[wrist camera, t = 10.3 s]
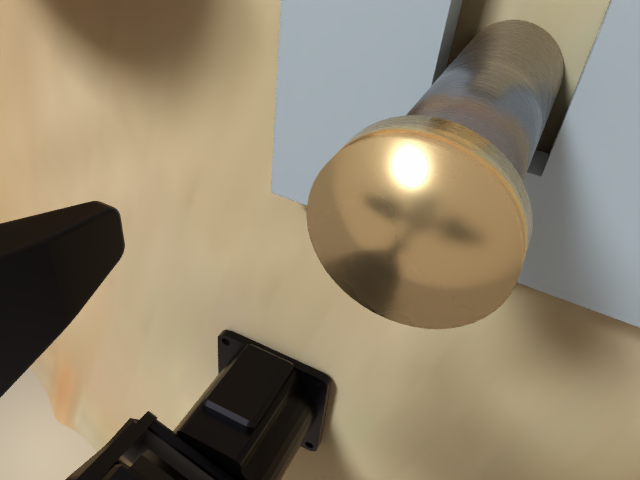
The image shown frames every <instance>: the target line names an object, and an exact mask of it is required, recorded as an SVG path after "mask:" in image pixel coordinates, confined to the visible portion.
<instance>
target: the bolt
mask: <svg viewBox="0 0 640 480" xmlns="http://www.w3.org/2000/svg"><path fill="white" fill-rule="evenodd" d="M563 74H564V63H563V57H562V53H561V51H560V48H559V46H558V45H557V43H556V41H555V40H554V39H553V38H552V36H551V35H550V34H549V33H548V32H546V31H545V30H544V29H542V28H541V27H539V26H537V25H535V24H533V23H529V22H526V21H520V20H507V21H502V22H498V23H495V24H492V25H490V26H488V27H486V28H485V29H483V30H482V31H480V32H479V33H478V34H477V35H476V36H475V37H474V38H473V39H472V40H471V41H470V42H469V43H468V45H467V46H466V47H465V48H464V49H463V50H462V51H461V53H460V54H459V55H458V56H457V57H456V58H455V59H454V61H453V62H452V63H451V64H450V65H449V66H448V68H447V69H446V70H445V71H444V72H443V73H442V74H441V76H440V77H439V78H438V79H437V80H436V81H435V82H434V84H433V85H432V86H431V87H430V88H429V89H428V90H427V92H426V93H425V94H424V95H423V96H422V97H421V98H420V100H419V101H418V102H417V103H416V104H415V105H414V106H413V108H412V109H411V110H410V111H409V112H408V113H407V115H406V116H398V117H392V118H388V119H385V120H381V121H378V122H376V123H374V124H372V125H370V126H368V127H366V128H364V129H363V130H361V131H360V132H358V133H357V134H356V135H355V136H353V137H352V138H351V139H350V140H349V141H348V142H347V143H346V144H345V145H344V146H343V147H342V148H341V149H340V150H339V151H338V152H337V153H336V154H335V155H334V156H333V157H332V158H331V159H330V160H329V161H328V163H327V164H326V165H325V166H324V167H323V168H322V170H321V171H320V172H319V173H318V175H317V177H316V179H315V181H314V183H313V185H312V187H311V190H310V193H309V198H308V203H307V224H308V231H309V235H310V239H311V242H312V245H313V247H314V250H315V252H316V254H317V256H318V258H319V260H320V262H321V263H322V265H323V267H324V268H325V270H326V271H327V273H328V274H329V275H330V276H331V278H332V279H333V280H334V281H335V282H336V283H337V284H338V285H339V287H340V288H341V289H342V290H343V291H344V292H346V293H347V294H348V295H349V296H350V297H352V298H353V299H354V300H355V301H357V302H358V303H360V304H361V305H362V306H364V307H366V308H367V309H369V310H371V311H372V312H374V313H376V314H378V315H380V316H382V317H385V318H387V319H389V320H392V321H395V322H398V323H401V324H405V325H409V326H413V327H419V328H428V329H445V328H454V327H460V326H464V325H467V324H471V323H474V322H476V321H478V320H480V319H482V318H485V317H486V316H488V315H489V314H491V313H492V312H494V311H495V310H496V309H497V308H498V307H500V306H501V305H502V304H503V303H504V302H505V300H506V299H507V298H508V297H509V295H510V294H511V292H512V291H513V289H514V287H515V285H516V283H517V280H518V277H519V274H520V271H521V268H522V265H523V262H524V259H525V255H526V252H527V249H528V246H529V243H530V240H531V234H532V227H533V221H532V209H531V203H530V199H529V196H528V193H527V190H526V187H525V185H524V183H523V181H524V178H525V176H526V173H527V170H528V168H529V165H530V163H531V160H532V158H533V155H534V153H535V150H536V147H537V145H538V142H539V140H540V137H541V135H542V132H543V129H544V127H545V124H546V122H547V119H548V117H549V114H550V111H551V109H552V106H553V104H554V101H555V99H556V96H557V94H558V91H559V88H560V86H561V83H562V79H563Z"/></svg>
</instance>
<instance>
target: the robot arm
mask: <svg viewBox="0 0 640 480" xmlns="http://www.w3.org/2000/svg"><path fill="white" fill-rule="evenodd" d="M124 248H125V242H124V236H123V229H122V223H121V217H120V213H119V211H118V210H117V209H116V208H114V207H112V206H109V205H107V204H105V203H102V202H99V201H91V202H87V203H83V204H79V205H75V206H71V207H67V208H63V209H59V210H54V211H50V212H46V213H42V214H38V215H34V216H30V217H26V218H22V219H18V220H13V221H9V222H5V223H1V224H0V397H1V396H2V395H3V394H4V393H5V392H6V391H7V390H8V389H9V388H10V387H11V386H12V385H13V384H14V383H15V381H17V379H18V378H19V377H20V376H21V375H22V374H23V373H24V372H25V371H26V370H27V369H28V368H29V367H30V366H31V365H32V364H33V363H34V362H35V360H36V359H37V358H38V357H39V356H40V355H41V354H42V353H43V352H44V351H45V350H46V349H47V348H48V347H49V346H50V345H51V344H52V343H53V341H54V340H55V339H56V338H57V337H58V336H59V335H60V334H61V333H62V332H63V331H64V330H65V328H66V327H67V326H68V325H69V324H70V323H71V322H72V320H73V319H74V318H75V317H76V315H77V314H78V313H79V312H80V310H81V309H82V308H83V307H84V305H85V304H86V303H87V301H88V300H89V299H90V297H91V296H92V295H93V294H94V292H95V291H96V290H97V288H98V287H99V286H100V285H101V283H102V282H103V281H104V279H105V278H106V277H107V275H108V274H109V273H110V272H111V270H112V269H113V268H114V266H115V265H116V264H117V263H118V261H119V260H120V258H121V257H122V255H123V252H124ZM218 369H219V375H218V376H217V377H216V378H215V380H214V381H213V382H212V383H211V385H210V386H209V387H208V388H207V390H206V391H205V392H204V393H203V395H202V396H201V397H200V398H199V400H198V401H197V402H196V403H195V405H194V406H193V407H192V408H191V410H190V411H189V412H188V413H187V415H186V416H185V417H184V418H183V420H182V421H181V422H180V423H179V425H178V426H177V427H176V428H175V430H174V431H171V430H170V429H169V428H167V427H166V426H165V425H163V424H162V423H161V422H159V421H158V420H157V417H156V416H155V415H153V414H152V413H151V412H149V411H148V412H147V413H146V414H145V415H144V416H143V417H142V418H141V419H140V420H137V419H132V418H130V419H129V420H128V421H127V422H126V423H125V424H124V426H123V427H122V428H121V429H120V430H119V431H118V432H117V433H116V435H115V436H114V437H113V438H112V439H111V440H110V441H109V442H108V443H107V444H106V445H105V446H104V447H103V448H102V449H101V450H100V451H98V452H97V453H96V454H95V455H94V456H92V458H90V459H89V460H88V461H87V462H85V463H84V464H83V465H82V466H81V467H79V468H78V469H77V470H76V471H75V472H74V473H72V474H71V475H70V476H69V477H68V478H67V479H66V480H281V478H282V477H283V475H284V473H285V471H286V470H287V468H288V466H289V464H290V463H291V461H292V459H293V458H294V456H295V454H296V452H297V451H298V449H299V447H300V446H302V447H304V448H306V449H308V450H310V451H316V450H317V448H318V447H319V445H320V442H321V436H322V431H323V425H324V420H325V414H326V408H327V403H328V397H329V391H330V386H331V381H330V379H329V377H328V376H327V375H325V374H324V373H322V372H319V371H317V370H315V369H313V368H311V367H308V366H306V365H304V364H302V363H300V362H297V361H295V360H293V359H291V358H289V357H286V356H284V355H282V354H280V353H278V352H275V351H273V350H271V349H269V348H267V347H264V346H262V345H260V344H258V343H256V342H254V341H251V340H249V339H247V338H245V337H243V336H240V335H238V334H236V333H234V332H232V331H229V330H224V331H222V333H221V334H220V335H219V336H218Z"/></svg>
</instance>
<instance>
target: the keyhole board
mask: <svg viewBox="0 0 640 480" xmlns="http://www.w3.org/2000/svg"><path fill="white" fill-rule="evenodd" d="M462 2H463V0H281V11H280V30H279V49H278V68H277V87H276V106H275V125H274V143H273V162H272V181H271V193H274V194H277V195H279V196H282V197H285V198H287V199H290V200H293V201H296V202H298V203H301V204H304V205H307V203H308V198H309V193H310V190H311V187H312V185H313V183H314V181H315V179H316V177H317V175H318V173H319V172H320V171H321V170H322V168H323V167H324V166H325V165H326V164H327V163H328V161H329V160H330V159H331V158H332V157H333V156H334V155H335V154H336V153H337V152H338V151H339V150H340V149H341V148H342V147H343V146H344V145H345V144H346V143H347V142H348V141H349V140H350V139H351V138H352V137H353V136H355V135H356V134H357V133H358V132H360V131H361V130H363V129H364V128H366V127H368V126H370V125H372V124H374V123H376V122H378V121H381V120H385V119H388V118H392V117H398V116H406V115H407V113H408V112H409V111H410V110H411V109H412V108H413V106H414V105H415V104H416V103H417V102H418V101H419V100H420V98H421V97H422V96H423V95H424V94H425V93H426V92H427V90H428V89H429V88H430V87H431V86H432V85H433V84H434V82H435V81H436V80H437V79H438V78H439V77H440V76H441V74H442V73H443V72H444V71H445V70H446V68H447V64H448V59H449V55H450V51H451V47H452V43H453V39H454V35H455V31H456V27H457V23H458V19H459V15H460V10H461V6H462ZM523 183H524V185H525V187H526V190H527V193H528V196H529V199H530V203H531V209H532V221H533V227H532V234H531V240H530V243H529V246H528V249H527V252H526V255H525V259H524V262H523V265H522V268H521V271H520V274H519V277H518V280H517V283H519V284H522V285H525V286H528V287H530V288H533V289H536V290H538V291H541V292H544V293H547V294H549V295H552V296H555V297H558V298H560V299H563V300H566V301H568V302H571V303H574V304H577V305H579V306H582V307H585V308H588V309H590V310H593V311H596V312H598V313H601V314H604V315H607V316H609V317H612V318H615V319H618V320H620V321H623V322H626V323H628V324H631V325H634V326H637V327H639V328H640V0H611V1H610V3H609V6H608V8H607V11H606V13H605V16H604V18H603V21H602V23H601V26H600V28H599V31H598V33H597V36H596V38H595V41H594V43H593V46H592V48H591V51H590V53H589V56H588V58H587V61H586V63H585V66H584V68H583V71H582V73H581V76H580V78H579V81H578V83H577V86H576V88H575V91H574V93H573V96H572V98H571V101H570V103H569V106H568V108H567V111H566V113H565V116H564V118H563V121H562V123H561V126H560V128H559V131H558V133H557V136H556V138H555V141H554V143H553V145H552V148H551V150H550V153H545V152H542V151H539V150H535V153H534V155H533V158H532V160H531V163H530V165H529V168H528V170H527V173H526V176H525V178H524V181H523Z"/></svg>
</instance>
